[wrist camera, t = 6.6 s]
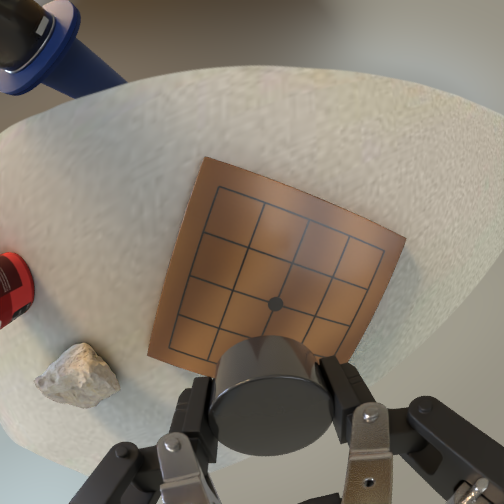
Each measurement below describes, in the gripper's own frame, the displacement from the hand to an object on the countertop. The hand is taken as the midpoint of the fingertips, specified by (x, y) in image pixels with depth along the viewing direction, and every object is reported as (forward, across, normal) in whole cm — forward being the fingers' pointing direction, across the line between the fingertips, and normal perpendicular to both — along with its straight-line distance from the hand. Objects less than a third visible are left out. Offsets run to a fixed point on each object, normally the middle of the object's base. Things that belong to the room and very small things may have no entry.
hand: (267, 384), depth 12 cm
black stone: (0, 0, 0) cm, 0 cm away
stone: (+14, +23, +8) cm, 28 cm away
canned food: (+14, +30, -5) cm, 33 cm away
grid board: (+14, -2, +2) cm, 14 cm away
